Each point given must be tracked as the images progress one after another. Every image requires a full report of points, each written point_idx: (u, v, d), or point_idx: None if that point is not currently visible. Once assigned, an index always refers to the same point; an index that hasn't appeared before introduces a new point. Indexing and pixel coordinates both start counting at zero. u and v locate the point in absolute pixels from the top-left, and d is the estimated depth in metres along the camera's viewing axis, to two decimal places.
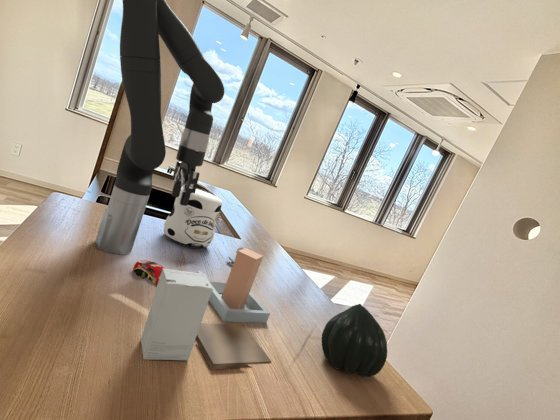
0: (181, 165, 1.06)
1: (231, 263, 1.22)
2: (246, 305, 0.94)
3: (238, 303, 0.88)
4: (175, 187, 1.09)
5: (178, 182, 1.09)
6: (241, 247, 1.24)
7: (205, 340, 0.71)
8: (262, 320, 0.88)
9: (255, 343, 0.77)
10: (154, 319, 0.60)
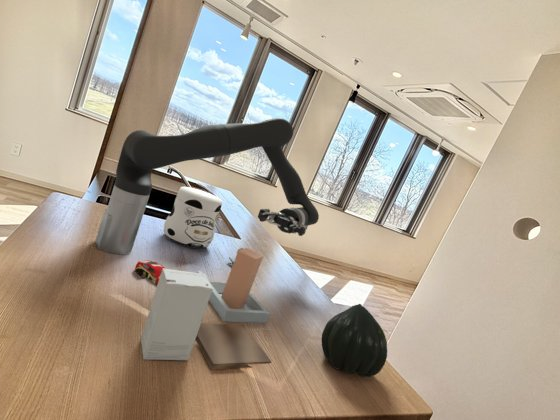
0: None
1: (232, 264, 1.22)
2: (246, 305, 0.94)
3: (238, 303, 0.88)
4: (266, 215, 1.03)
5: (267, 216, 1.05)
6: (242, 248, 1.24)
7: (205, 340, 0.71)
8: (262, 320, 0.88)
9: (255, 343, 0.77)
10: (154, 319, 0.60)
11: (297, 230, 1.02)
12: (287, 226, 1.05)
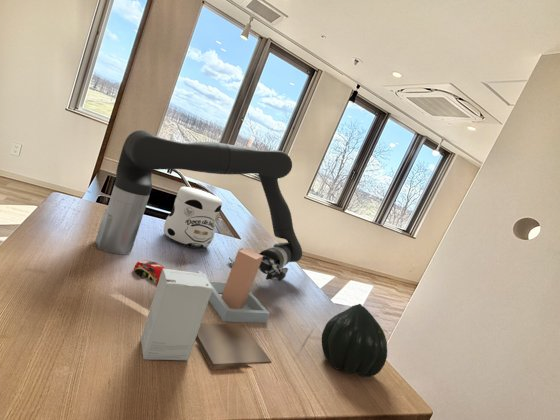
0: None
1: (232, 264, 1.21)
2: (246, 305, 0.94)
3: (238, 303, 0.88)
4: None
5: None
6: (242, 248, 1.24)
7: (205, 340, 0.71)
8: (262, 320, 0.88)
9: (255, 343, 0.77)
10: (154, 319, 0.60)
11: (276, 275, 1.00)
12: (267, 270, 1.04)
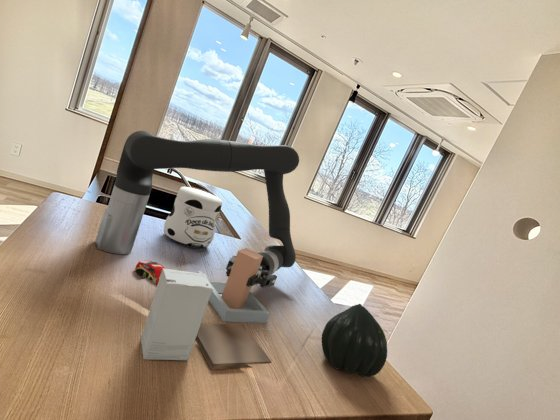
0: None
1: None
2: (246, 305, 0.94)
3: (238, 303, 0.88)
4: None
5: None
6: None
7: (205, 340, 0.71)
8: (262, 320, 0.88)
9: (255, 343, 0.77)
10: (154, 319, 0.60)
11: (259, 281, 0.91)
12: None
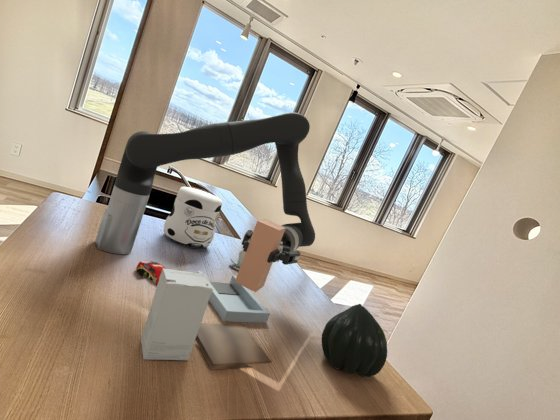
0: None
1: (234, 266, 1.20)
2: (246, 305, 0.94)
3: (257, 282, 0.75)
4: None
5: None
6: None
7: (205, 340, 0.71)
8: (262, 320, 0.88)
9: (255, 343, 0.77)
10: (154, 319, 0.60)
11: (281, 257, 0.77)
12: None
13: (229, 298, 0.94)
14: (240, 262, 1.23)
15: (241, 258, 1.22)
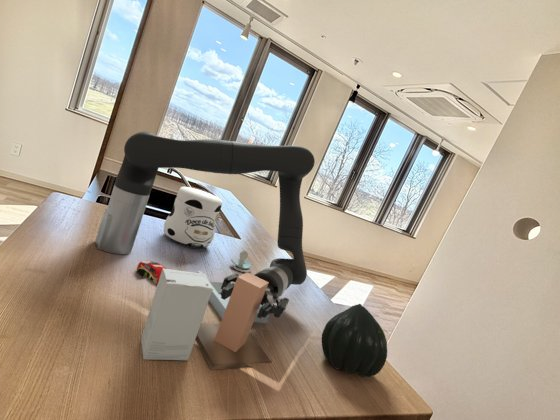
0: None
1: (234, 267, 1.20)
2: None
3: (237, 342, 0.71)
4: (232, 289, 0.75)
5: None
6: None
7: (205, 340, 0.71)
8: (262, 320, 0.88)
9: (255, 343, 0.77)
10: (154, 319, 0.60)
11: (272, 310, 0.73)
12: None
13: (229, 298, 0.94)
14: (241, 263, 1.22)
15: (242, 259, 1.22)
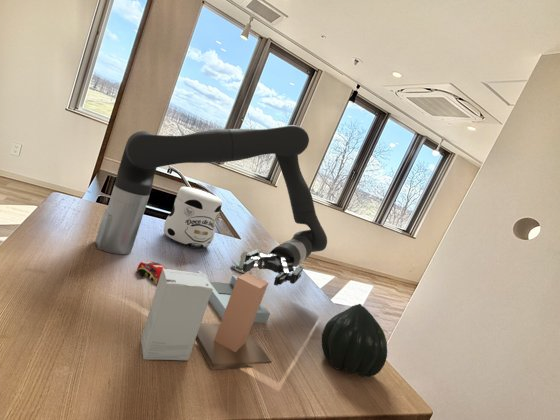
0: None
1: (235, 268, 1.19)
2: None
3: (237, 342, 0.71)
4: (252, 262, 0.89)
5: (254, 262, 0.91)
6: None
7: (205, 340, 0.71)
8: (262, 320, 0.88)
9: (255, 343, 0.77)
10: (154, 319, 0.60)
11: (288, 278, 0.87)
12: (278, 271, 0.91)
13: (229, 298, 0.94)
14: (242, 264, 1.22)
15: (243, 260, 1.21)
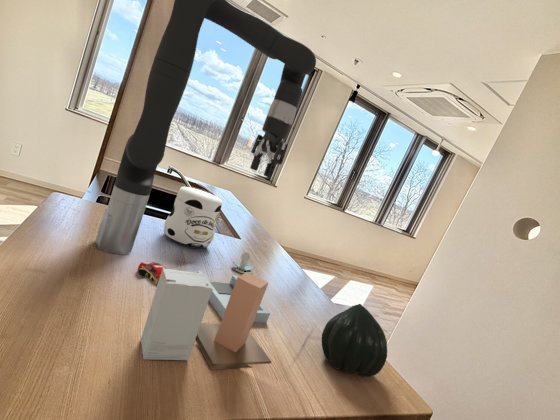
0: (265, 137, 1.06)
1: (236, 268, 1.19)
2: None
3: (237, 342, 0.71)
4: (255, 160, 1.08)
5: (258, 155, 1.08)
6: (246, 252, 1.21)
7: (205, 340, 0.71)
8: (262, 320, 0.88)
9: (255, 343, 0.77)
10: (154, 319, 0.61)
11: (274, 164, 1.01)
12: None
13: (229, 298, 0.94)
14: (243, 265, 1.21)
15: (244, 261, 1.21)
